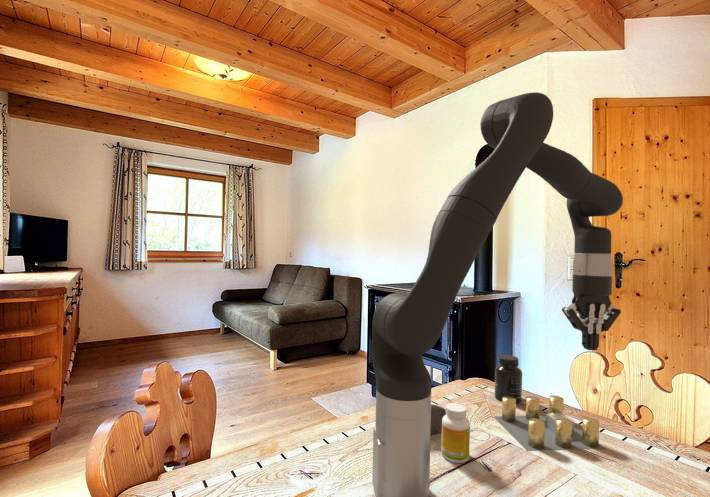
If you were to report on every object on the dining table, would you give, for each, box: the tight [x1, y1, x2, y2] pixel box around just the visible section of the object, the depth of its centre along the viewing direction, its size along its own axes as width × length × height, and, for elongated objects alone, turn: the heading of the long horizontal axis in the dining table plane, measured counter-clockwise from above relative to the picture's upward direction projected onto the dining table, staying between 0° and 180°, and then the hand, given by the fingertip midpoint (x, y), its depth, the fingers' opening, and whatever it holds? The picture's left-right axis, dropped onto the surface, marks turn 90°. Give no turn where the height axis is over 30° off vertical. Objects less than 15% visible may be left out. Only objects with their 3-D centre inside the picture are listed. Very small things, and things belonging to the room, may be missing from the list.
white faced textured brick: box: [545, 412, 575, 435], centre depth 82 cm, size 4×4×3 cm
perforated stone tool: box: [430, 403, 446, 435], centre depth 81 cm, size 15×5×7 cm, turn 98°
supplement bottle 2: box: [494, 354, 523, 405], centre depth 99 cm, size 7×7×12 cm
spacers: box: [501, 395, 600, 449], centre depth 82 cm, size 15×14×5 cm
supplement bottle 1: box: [440, 402, 471, 464], centre depth 73 cm, size 5×5×10 cm
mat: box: [492, 414, 607, 452], centre depth 82 cm, size 23×15×1 cm, turn 95°
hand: (590, 349), depth 83 cm, fingers closed
